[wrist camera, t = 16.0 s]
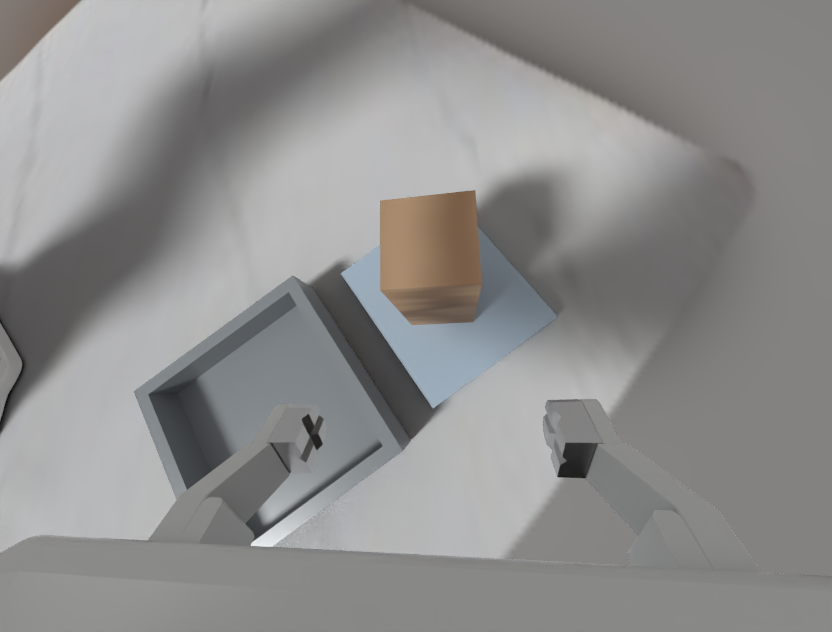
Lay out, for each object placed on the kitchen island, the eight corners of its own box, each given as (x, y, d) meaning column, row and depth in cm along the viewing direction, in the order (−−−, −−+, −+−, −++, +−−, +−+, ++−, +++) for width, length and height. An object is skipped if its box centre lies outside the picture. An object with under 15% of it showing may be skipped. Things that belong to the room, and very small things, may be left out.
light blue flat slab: (344, 277, 27) (340, 273, 26) (449, 200, 28) (449, 194, 27) (434, 407, 24) (432, 408, 23) (554, 319, 24) (558, 316, 23)
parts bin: (173, 389, 28) (133, 391, 24) (313, 288, 28) (292, 275, 24) (248, 560, 24) (212, 590, 20) (410, 440, 24) (402, 450, 20)
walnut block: (411, 325, 25) (380, 290, 15) (410, 266, 26) (380, 198, 16) (473, 322, 24) (481, 283, 14) (469, 261, 25) (474, 187, 15)
